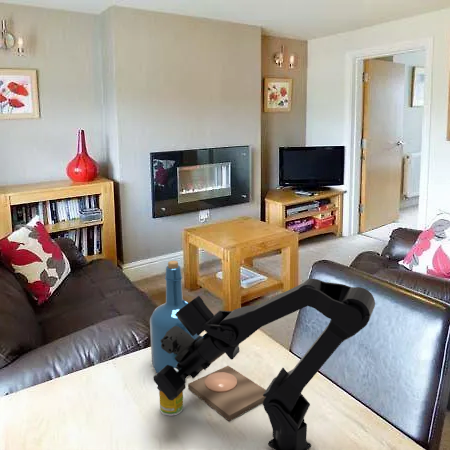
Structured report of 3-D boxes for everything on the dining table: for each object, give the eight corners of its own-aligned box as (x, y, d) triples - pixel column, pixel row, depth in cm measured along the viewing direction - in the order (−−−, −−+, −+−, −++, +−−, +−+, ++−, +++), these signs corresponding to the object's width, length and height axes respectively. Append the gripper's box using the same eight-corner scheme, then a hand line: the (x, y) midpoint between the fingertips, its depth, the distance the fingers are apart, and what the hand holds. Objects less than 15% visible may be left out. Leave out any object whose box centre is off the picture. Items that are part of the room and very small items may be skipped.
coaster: (243, 383, 115) (243, 382, 115) (218, 396, 110) (218, 394, 110) (223, 370, 121) (223, 368, 120) (198, 381, 116) (198, 380, 116)
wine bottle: (169, 386, 116) (164, 274, 109) (143, 364, 126) (137, 260, 119) (212, 367, 125) (210, 262, 117) (184, 348, 135) (181, 250, 127)
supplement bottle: (179, 417, 105) (178, 379, 102) (156, 415, 106) (155, 377, 103) (186, 403, 110) (184, 366, 107) (164, 400, 111) (162, 364, 108)
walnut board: (270, 398, 111) (270, 392, 111) (229, 421, 103) (229, 415, 103) (228, 370, 123) (228, 365, 123) (188, 389, 115) (188, 383, 115)
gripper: (203, 304, 108) (165, 337, 116) (159, 339, 92) (118, 375, 99) (234, 341, 107) (193, 372, 114) (194, 384, 91) (150, 417, 98)
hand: (165, 382), depth 107 cm, fingers closed on supplement bottle, 5 cm apart
